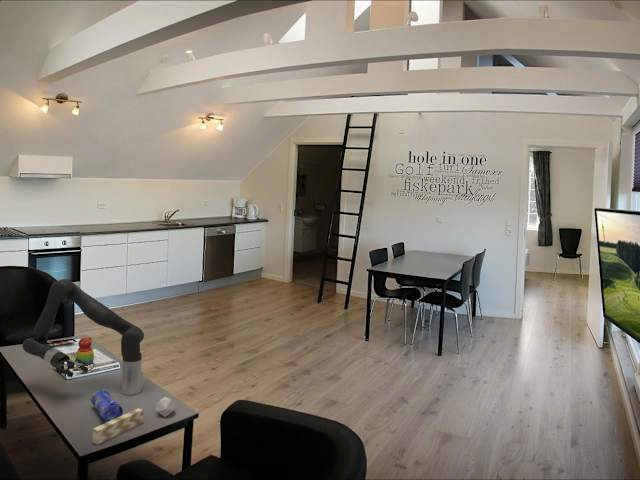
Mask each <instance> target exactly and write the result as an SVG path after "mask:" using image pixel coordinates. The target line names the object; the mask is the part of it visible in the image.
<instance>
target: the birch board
mask: <svg viewBox="0 0 640 480" xmlns="http://www.w3.org/2000/svg"><path fill="white" fill-rule="evenodd" d="M143 423H144V409H143V408H140V407H138V408H136V409H133V410H131V411H129V412H127V413H125V414H124V413H123V414H122V416H120V417H118V418H116V419H113V420H111V421H109V422H107V423H106V422H105V423H103V424H100V425H97V426H96V427H93V428H92V443H93V444H95V445H99V444H101V443H104V442H106V441H107V440H110V439H112V438H114V437H116V436H118V435H120V434H122V433H124V432H127V431H129V430H130V429H133V428H134V427H137V426H139V425H140V424H143Z"/></svg>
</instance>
